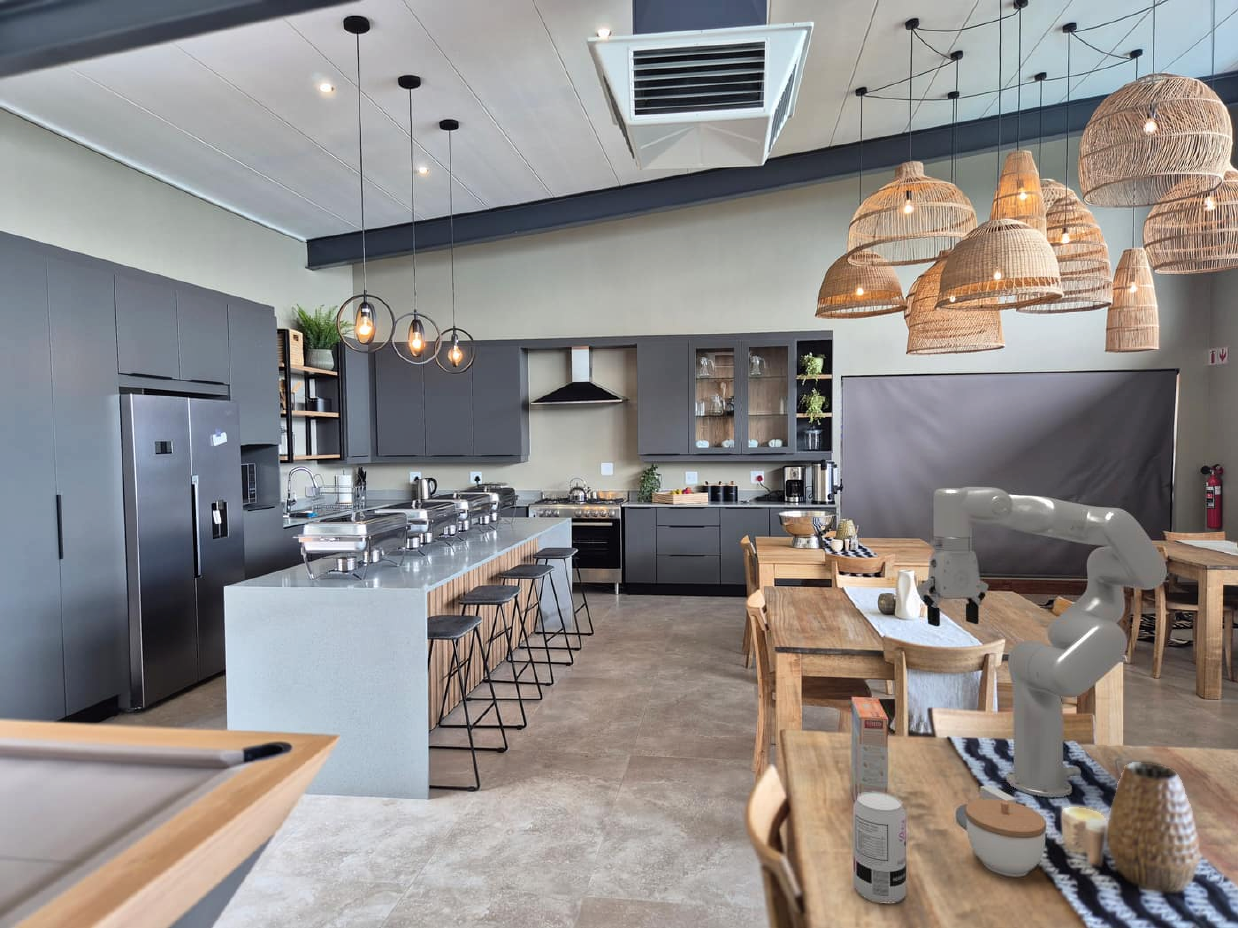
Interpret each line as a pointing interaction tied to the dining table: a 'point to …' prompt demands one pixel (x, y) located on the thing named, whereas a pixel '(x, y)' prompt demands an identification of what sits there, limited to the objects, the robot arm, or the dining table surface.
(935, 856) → the dining table surface
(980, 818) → the lidded bowl
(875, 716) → the cracker box
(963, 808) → the lid
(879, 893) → the supplement can
